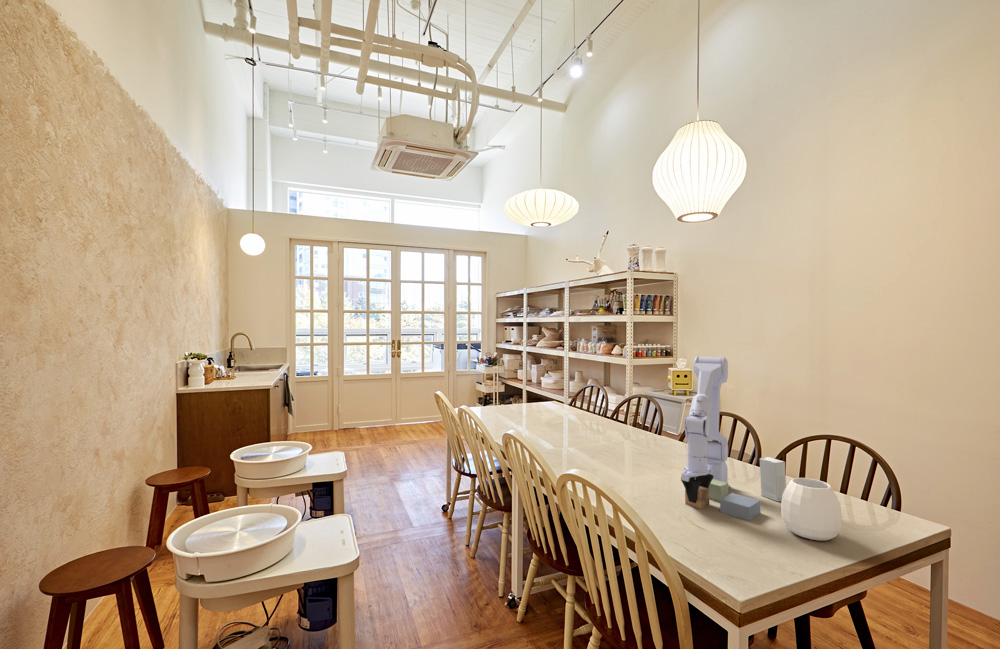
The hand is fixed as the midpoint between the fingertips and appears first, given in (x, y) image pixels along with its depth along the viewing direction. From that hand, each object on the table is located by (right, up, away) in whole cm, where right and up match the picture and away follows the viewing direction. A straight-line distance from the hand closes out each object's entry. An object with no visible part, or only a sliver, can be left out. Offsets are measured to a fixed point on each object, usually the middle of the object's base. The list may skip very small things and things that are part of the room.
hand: (697, 499), depth 142 cm
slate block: (+10, -2, -6) cm, 12 cm away
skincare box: (+26, -2, +5) cm, 27 cm away
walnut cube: (0, -2, 0) cm, 2 cm away
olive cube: (+8, -2, +5) cm, 10 cm away
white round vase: (+21, -2, -20) cm, 29 cm away
